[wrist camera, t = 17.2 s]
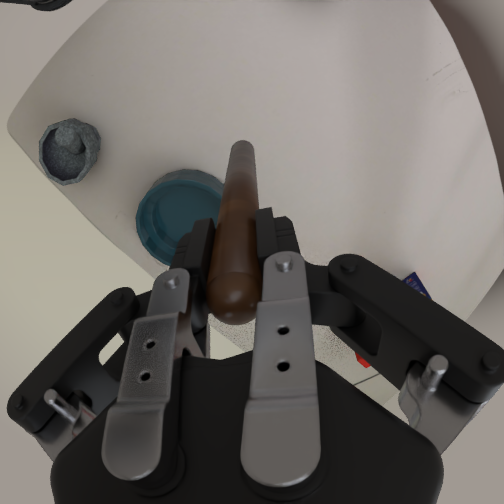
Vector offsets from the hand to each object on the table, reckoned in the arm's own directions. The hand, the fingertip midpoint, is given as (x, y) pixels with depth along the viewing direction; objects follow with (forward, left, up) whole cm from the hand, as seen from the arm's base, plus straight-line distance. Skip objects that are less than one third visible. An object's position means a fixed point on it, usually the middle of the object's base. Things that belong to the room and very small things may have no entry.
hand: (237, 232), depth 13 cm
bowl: (-12, -12, -32) cm, 36 cm away
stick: (0, 0, -15) cm, 15 cm away
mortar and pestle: (-25, +4, -32) cm, 41 cm away
